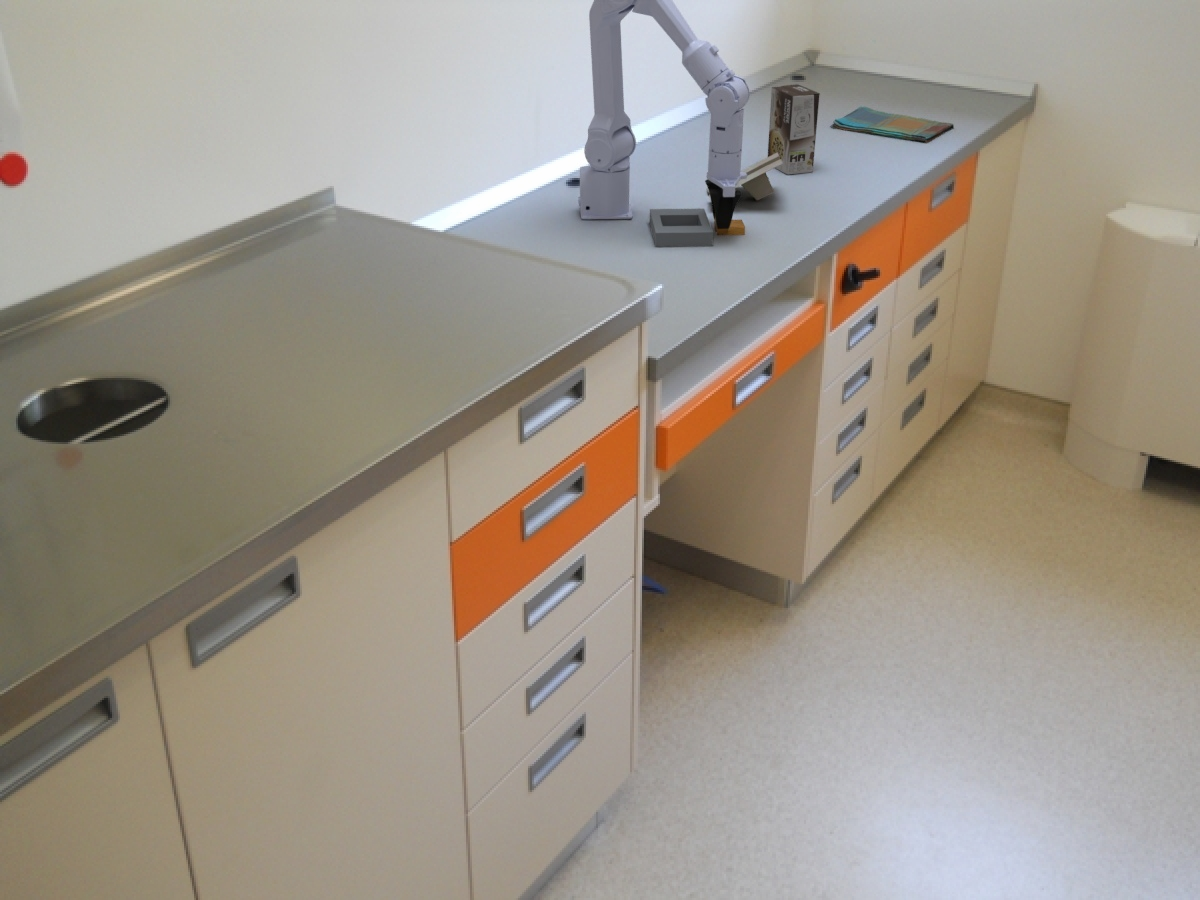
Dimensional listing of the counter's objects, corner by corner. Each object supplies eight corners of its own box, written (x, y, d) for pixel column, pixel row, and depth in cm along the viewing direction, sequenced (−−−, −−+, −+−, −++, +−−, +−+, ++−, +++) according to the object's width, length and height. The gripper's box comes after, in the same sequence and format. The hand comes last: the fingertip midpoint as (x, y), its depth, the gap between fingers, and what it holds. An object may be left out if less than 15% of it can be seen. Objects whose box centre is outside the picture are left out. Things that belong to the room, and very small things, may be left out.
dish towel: (860, 115, 305) (861, 104, 304) (954, 130, 294) (955, 118, 292) (829, 130, 293) (830, 119, 292) (925, 146, 281) (927, 135, 280)
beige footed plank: (737, 236, 240) (801, 183, 236) (708, 200, 238) (772, 147, 234) (734, 221, 255) (793, 172, 251) (706, 187, 253) (765, 137, 249)
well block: (655, 246, 223) (655, 232, 221) (649, 222, 234) (649, 209, 233) (712, 245, 223) (713, 232, 222) (703, 221, 234) (704, 208, 233)
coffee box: (814, 172, 262) (821, 93, 254) (786, 175, 260) (792, 95, 252) (792, 160, 269) (798, 83, 262) (765, 163, 267) (770, 85, 260)
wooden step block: (716, 235, 228) (718, 205, 225) (714, 227, 231) (715, 198, 229) (744, 234, 228) (746, 205, 226) (741, 227, 232) (743, 198, 229)
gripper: (754, 160, 216) (749, 237, 223) (742, 137, 229) (737, 210, 236) (713, 161, 216) (709, 237, 223) (703, 138, 229) (699, 211, 235)
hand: (721, 223), depth 229 cm, fingers closed on wooden step block, 4 cm apart
